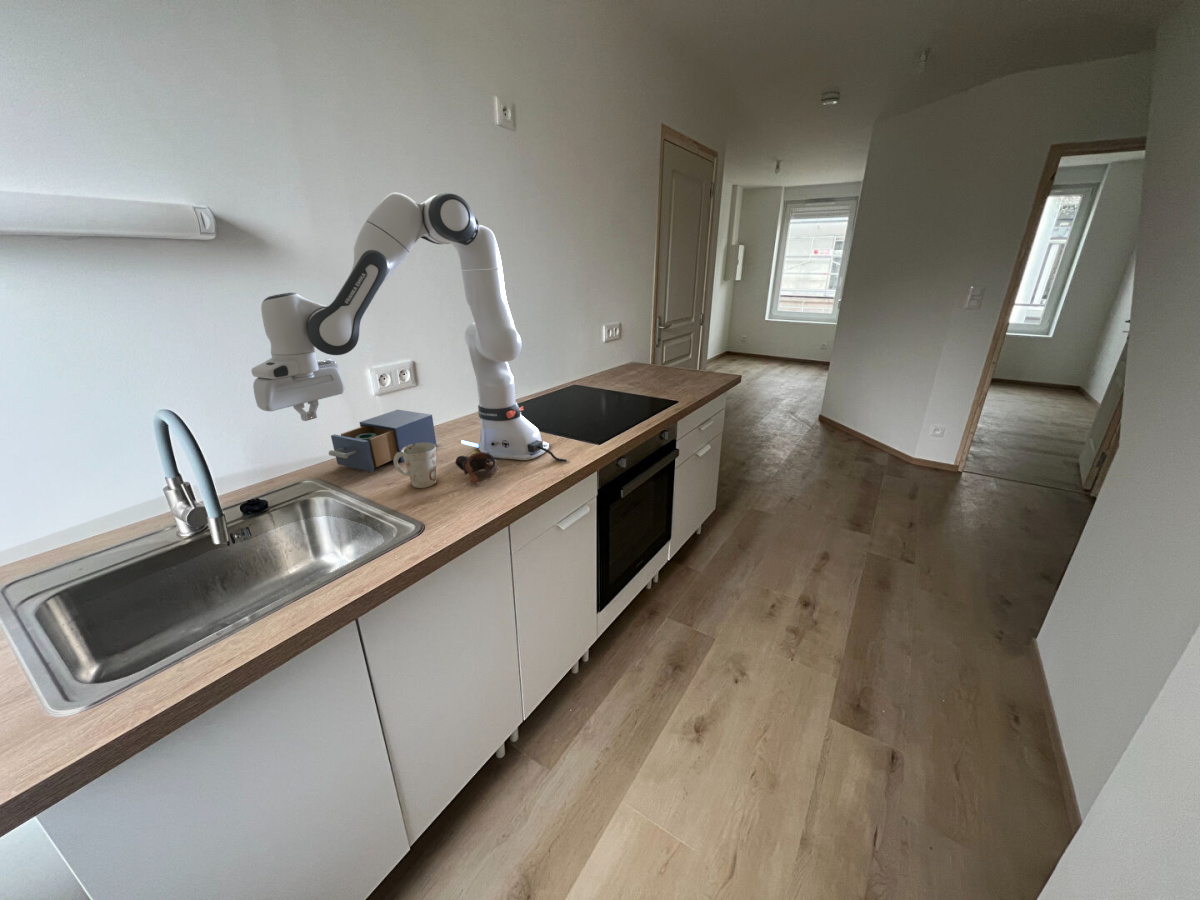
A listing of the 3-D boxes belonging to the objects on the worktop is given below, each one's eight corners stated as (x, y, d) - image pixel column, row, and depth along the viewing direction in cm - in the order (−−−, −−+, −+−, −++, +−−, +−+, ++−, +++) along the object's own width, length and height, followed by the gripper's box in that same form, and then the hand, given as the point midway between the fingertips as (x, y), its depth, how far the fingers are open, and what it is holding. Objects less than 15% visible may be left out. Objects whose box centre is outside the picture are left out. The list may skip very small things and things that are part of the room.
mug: (430, 491, 115) (424, 455, 112) (386, 487, 118) (379, 451, 114) (446, 477, 123) (441, 443, 119) (405, 474, 125) (399, 440, 122)
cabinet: (401, 462, 133) (395, 428, 129) (366, 454, 139) (359, 422, 135) (436, 446, 146) (432, 414, 142) (402, 439, 151) (397, 409, 147)
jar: (384, 455, 133) (380, 434, 131) (369, 461, 128) (364, 440, 126) (371, 452, 135) (366, 432, 133) (355, 458, 130) (350, 437, 128)
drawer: (357, 477, 121) (351, 447, 118) (323, 469, 126) (316, 440, 123) (408, 455, 136) (403, 427, 133) (376, 448, 141) (370, 421, 138)
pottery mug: (502, 471, 128) (503, 453, 122) (491, 498, 122) (490, 480, 115) (462, 459, 128) (460, 441, 122) (448, 486, 122) (445, 467, 115)
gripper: (327, 356, 119) (338, 407, 124) (243, 370, 101) (259, 429, 106) (343, 358, 116) (354, 410, 121) (260, 373, 99) (277, 432, 104)
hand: (309, 419), depth 113 cm, fingers closed
